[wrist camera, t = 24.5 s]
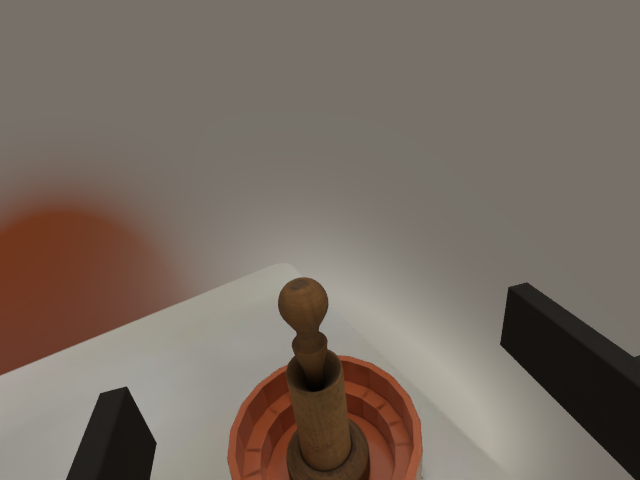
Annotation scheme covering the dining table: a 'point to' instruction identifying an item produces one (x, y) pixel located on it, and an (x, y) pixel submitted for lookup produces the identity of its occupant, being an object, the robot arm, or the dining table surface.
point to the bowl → (362, 407)
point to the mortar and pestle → (318, 395)
